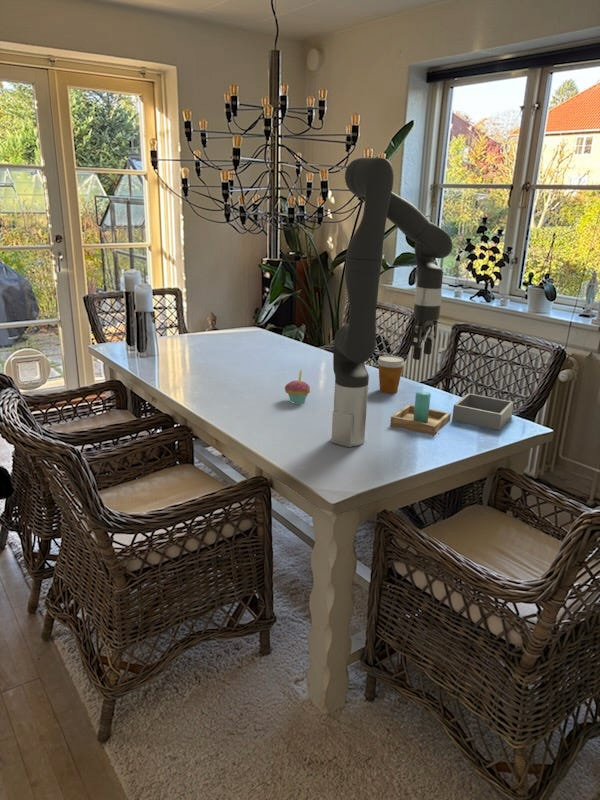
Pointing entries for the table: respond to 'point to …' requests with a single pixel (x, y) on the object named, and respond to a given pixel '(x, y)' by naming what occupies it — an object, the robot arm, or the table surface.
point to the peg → (422, 406)
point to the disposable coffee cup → (390, 373)
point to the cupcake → (297, 390)
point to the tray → (406, 422)
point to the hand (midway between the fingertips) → (422, 356)
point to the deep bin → (483, 411)
